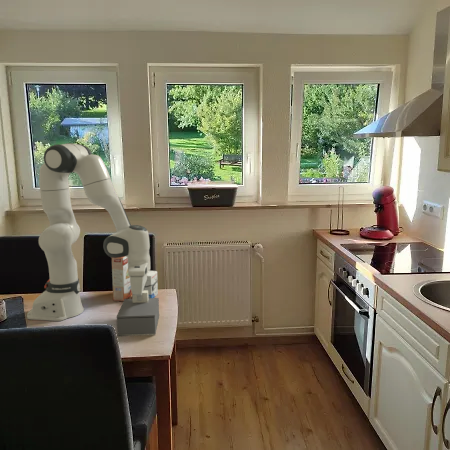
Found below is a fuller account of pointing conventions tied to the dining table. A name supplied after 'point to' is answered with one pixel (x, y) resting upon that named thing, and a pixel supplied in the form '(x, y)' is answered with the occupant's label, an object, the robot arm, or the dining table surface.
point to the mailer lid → (138, 307)
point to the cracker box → (120, 279)
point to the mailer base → (138, 325)
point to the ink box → (151, 284)
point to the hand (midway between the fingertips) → (140, 298)
